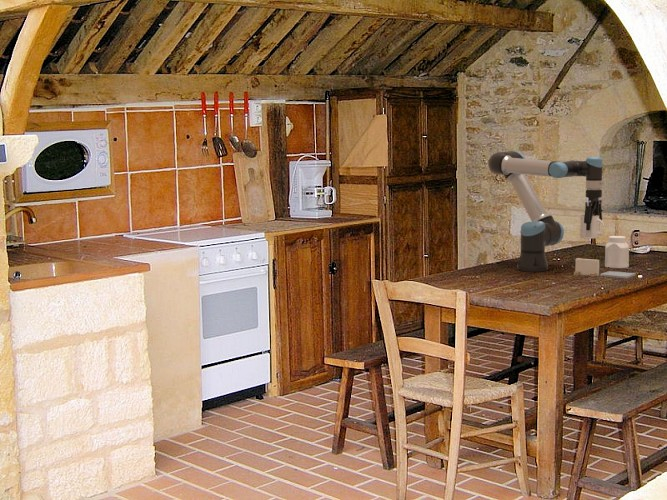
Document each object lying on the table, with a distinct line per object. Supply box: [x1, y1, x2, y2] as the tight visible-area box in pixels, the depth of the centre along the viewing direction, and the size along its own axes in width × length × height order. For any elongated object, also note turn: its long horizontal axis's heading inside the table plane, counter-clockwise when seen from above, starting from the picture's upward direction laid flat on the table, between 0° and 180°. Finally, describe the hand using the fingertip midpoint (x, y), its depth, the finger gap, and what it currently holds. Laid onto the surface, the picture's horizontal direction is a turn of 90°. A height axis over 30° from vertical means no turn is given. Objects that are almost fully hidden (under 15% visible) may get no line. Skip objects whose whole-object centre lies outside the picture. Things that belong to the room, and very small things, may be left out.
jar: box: [604, 235, 630, 269], centre depth 471 cm, size 12×10×15 cm
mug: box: [579, 214, 606, 240], centre depth 456 cm, size 9×12×11 cm
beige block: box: [573, 257, 600, 278], centre depth 446 cm, size 11×5×8 cm, turn 51°
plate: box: [599, 270, 637, 280], centre depth 444 cm, size 13×11×1 cm
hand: (592, 235), depth 457 cm, fingers closed on mug, 9 cm apart
